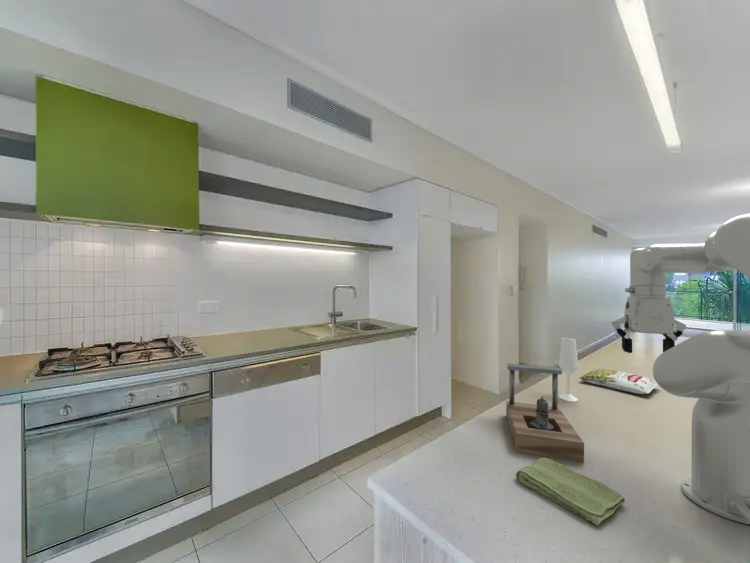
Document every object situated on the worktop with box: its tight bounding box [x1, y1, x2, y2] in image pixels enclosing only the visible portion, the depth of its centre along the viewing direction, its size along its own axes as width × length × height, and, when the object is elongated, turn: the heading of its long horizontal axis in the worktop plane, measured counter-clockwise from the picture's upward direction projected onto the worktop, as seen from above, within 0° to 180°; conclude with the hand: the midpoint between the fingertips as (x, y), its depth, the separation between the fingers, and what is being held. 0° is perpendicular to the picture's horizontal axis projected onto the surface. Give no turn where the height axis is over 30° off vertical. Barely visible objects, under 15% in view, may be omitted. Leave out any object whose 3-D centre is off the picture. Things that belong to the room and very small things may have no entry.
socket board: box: [505, 400, 585, 463], centre depth 93 cm, size 24×16×5 cm, turn 163°
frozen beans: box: [579, 368, 659, 395], centre depth 139 cm, size 21×6×25 cm
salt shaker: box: [531, 396, 554, 431], centre depth 90 cm, size 6×6×12 cm
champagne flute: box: [558, 337, 579, 402], centre depth 124 cm, size 7×7×24 cm
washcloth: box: [515, 457, 626, 527], centre depth 68 cm, size 13×18×3 cm
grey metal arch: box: [506, 362, 563, 410], centre depth 102 cm, size 4×16×13 cm, turn 73°
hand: (647, 353), depth 86 cm, fingers open, 9 cm apart
